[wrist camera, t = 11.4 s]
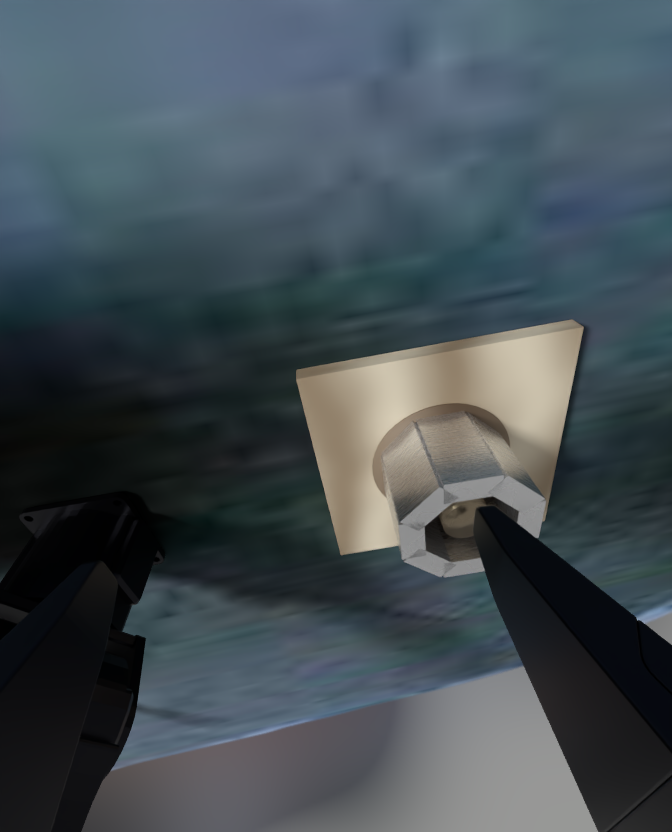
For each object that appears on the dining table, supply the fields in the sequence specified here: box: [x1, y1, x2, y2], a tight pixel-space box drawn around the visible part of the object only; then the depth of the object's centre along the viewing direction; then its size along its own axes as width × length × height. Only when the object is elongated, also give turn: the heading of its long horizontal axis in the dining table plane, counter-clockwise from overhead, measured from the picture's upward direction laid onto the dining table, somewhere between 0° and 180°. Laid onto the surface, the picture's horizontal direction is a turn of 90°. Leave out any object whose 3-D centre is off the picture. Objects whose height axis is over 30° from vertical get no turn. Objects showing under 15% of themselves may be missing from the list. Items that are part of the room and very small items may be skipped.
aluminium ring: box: [381, 411, 546, 577], centre depth 21 cm, size 7×7×5 cm
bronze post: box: [438, 498, 487, 538], centre depth 21 cm, size 2×2×4 cm
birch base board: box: [296, 320, 584, 555], centre depth 23 cm, size 14×14×1 cm
